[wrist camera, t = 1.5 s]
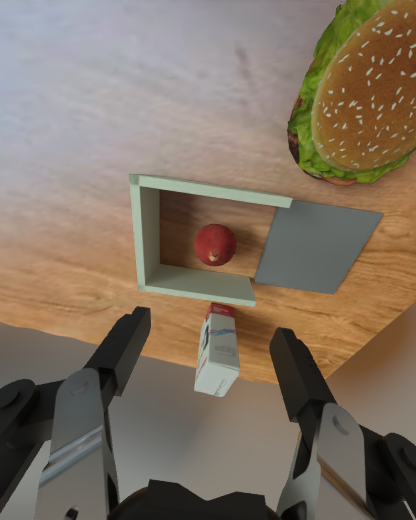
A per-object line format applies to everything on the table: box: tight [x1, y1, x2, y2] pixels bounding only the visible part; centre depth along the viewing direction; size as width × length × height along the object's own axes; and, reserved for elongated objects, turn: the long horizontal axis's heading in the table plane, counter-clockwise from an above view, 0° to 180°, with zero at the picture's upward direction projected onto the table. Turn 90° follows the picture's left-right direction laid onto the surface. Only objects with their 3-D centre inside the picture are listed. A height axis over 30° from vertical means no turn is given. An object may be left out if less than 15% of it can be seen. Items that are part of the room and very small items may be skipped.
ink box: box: [195, 303, 240, 397], centre depth 29 cm, size 9×5×12 cm, turn 164°
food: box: [287, 0, 416, 186], centre depth 15 cm, size 14×14×8 cm
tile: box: [254, 200, 383, 295], centre depth 26 cm, size 14×14×1 cm
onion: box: [194, 224, 236, 266], centre depth 22 cm, size 6×6×8 cm
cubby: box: [129, 174, 293, 307], centre depth 23 cm, size 17×15×6 cm
